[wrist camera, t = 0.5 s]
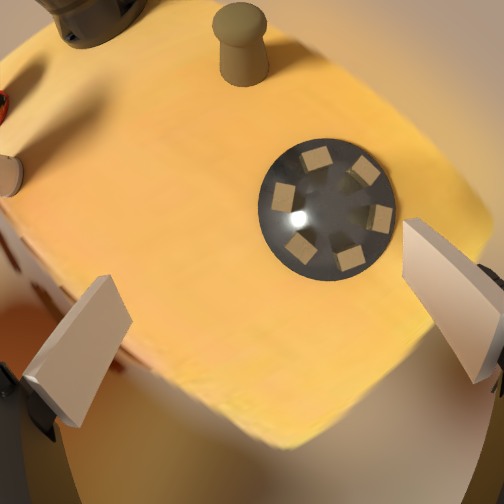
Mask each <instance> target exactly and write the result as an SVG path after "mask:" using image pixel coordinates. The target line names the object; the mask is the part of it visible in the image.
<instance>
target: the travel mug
mask: <svg viewBox="0 0 504 504" xmlns="http://www.w3.org/2000/svg"><path fill="white" fill-rule="evenodd" d="M22 179H23V167H22V163H21V161H20V160H19V159H18V158H15V157H9V156H5V155H0V197H12V196H14V195H15V194H16V193H17V191H18V190H19V188H20V186H21V183H22Z"/></svg>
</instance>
